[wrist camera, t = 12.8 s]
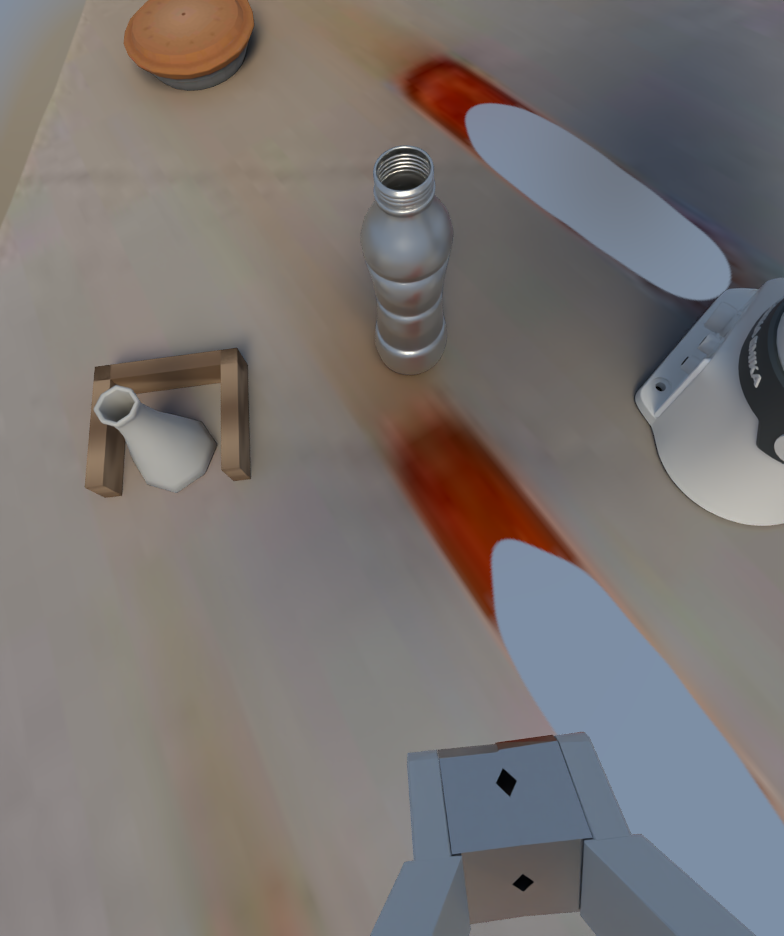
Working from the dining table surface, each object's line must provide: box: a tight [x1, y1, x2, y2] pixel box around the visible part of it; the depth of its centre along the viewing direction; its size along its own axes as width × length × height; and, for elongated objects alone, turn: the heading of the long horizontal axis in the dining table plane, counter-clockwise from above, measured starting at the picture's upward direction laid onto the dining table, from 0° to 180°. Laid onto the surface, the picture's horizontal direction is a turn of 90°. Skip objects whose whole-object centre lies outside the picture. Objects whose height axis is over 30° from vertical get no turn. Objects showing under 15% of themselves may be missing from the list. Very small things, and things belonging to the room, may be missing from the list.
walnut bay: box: [85, 348, 251, 498], centre depth 47 cm, size 12×13×3 cm
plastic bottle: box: [360, 146, 453, 375], centre depth 41 cm, size 6×7×20 cm
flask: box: [93, 385, 217, 493], centre depth 43 cm, size 7×7×10 cm
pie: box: [124, 0, 254, 91], centre depth 64 cm, size 15×16×5 cm
